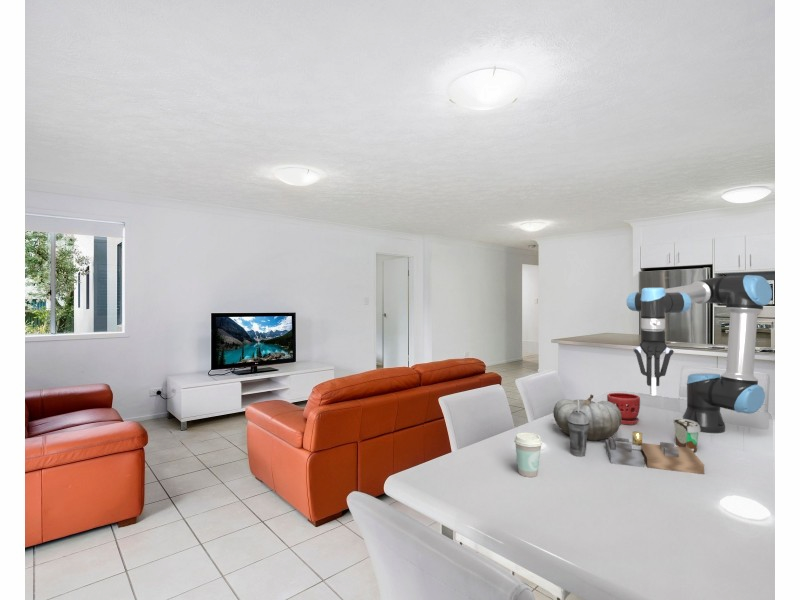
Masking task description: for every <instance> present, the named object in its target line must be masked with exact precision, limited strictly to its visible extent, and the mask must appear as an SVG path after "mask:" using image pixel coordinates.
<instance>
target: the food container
mask: <svg viewBox="0 0 800 600" xmlns="http://www.w3.org/2000/svg"><path fill="white" fill-rule="evenodd" d="M673 423H674V424H673V425H674V445H675V446H676V447H686V448H690V449H691V450H692V451H693V452H694V453H695V454H696V452H697V449H698V439H699V432H702V431H701V429H700V426H699V424H698V423H697V422H695V421H692V420H688V419H683V417H674V419H673Z"/></svg>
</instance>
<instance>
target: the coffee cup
mask: <svg viewBox="0 0 800 600" xmlns="http://www.w3.org/2000/svg"><path fill="white" fill-rule="evenodd" d="M514 443H515V452H516V461H517V470H518V474H519V475H520V476H523V477H527V478H535V477H538V473H539V466H540V457H541V449H542V445H543V441H542V438H541V436H540V435H539V434H536V433H533V432H519V433H517V434H516V435H515V437H514Z"/></svg>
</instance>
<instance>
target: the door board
mask: <svg viewBox="0 0 800 600" xmlns="http://www.w3.org/2000/svg"><path fill="white" fill-rule="evenodd" d="M615 441H620V442H630V443H633V441H630V439H629V438H624V437H615V436H610V437H608V438H605V449H606V452H607V455H608V456H607V457H608V459H609V461H610V464H615V465H626V466H632V467H641V468H644V467H645V466H646V467H647V468H650V469H658V470H666V471H674V472H675V471H676V472H683V473H690V474H691V473H692V474H700V475H705V464H704V463H703V462H702V460H701V459H700V458H699V456H697V455H696V453H694V452H693V451H692V450H691V449H690V448H686V447H678V446H676V445H675V442H674V443H672V442H663V441H660V443H659V444H656V443H655V444H654V443H646V442H645V443H644V442H642V446H641V450H636V449H632V445H631V444H628V443H618V442H615Z"/></svg>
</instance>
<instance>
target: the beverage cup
mask: <svg viewBox="0 0 800 600" xmlns="http://www.w3.org/2000/svg"><path fill="white" fill-rule="evenodd" d="M577 400H578V411H573V412H572V413H571V414H570V415H569V417H568V426H569V432H570V435H569V442H570V451H571V452H570V453H571V455H573V456H574V457H578V458H581V457H582V458H583V457H585V456H586V450H587V441H588V439H587V432H588V428H589V419H588V417H587V415H586V414H585V413H584V412H582V411H579V400H580V399H577Z"/></svg>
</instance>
